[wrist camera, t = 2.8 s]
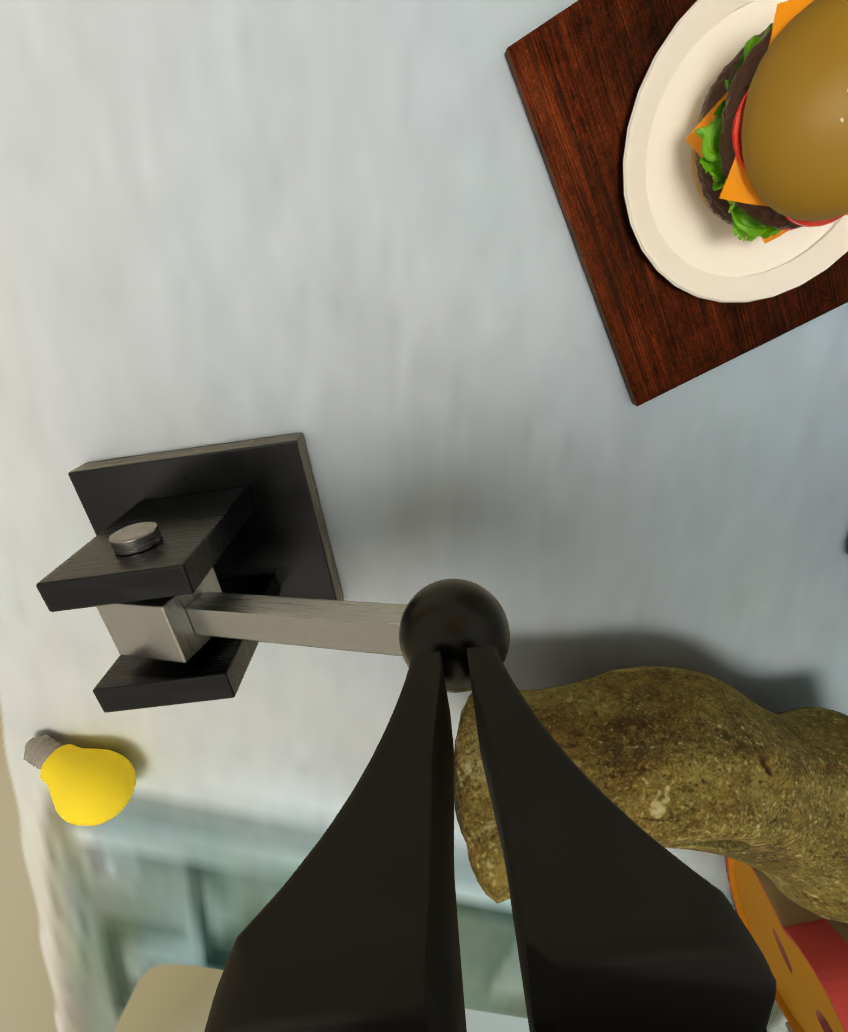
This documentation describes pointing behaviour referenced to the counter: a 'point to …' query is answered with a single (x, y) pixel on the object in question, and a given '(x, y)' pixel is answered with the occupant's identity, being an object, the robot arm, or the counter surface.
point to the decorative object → (795, 951)
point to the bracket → (195, 551)
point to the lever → (317, 624)
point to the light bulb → (82, 779)
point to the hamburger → (696, 169)
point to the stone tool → (690, 776)
